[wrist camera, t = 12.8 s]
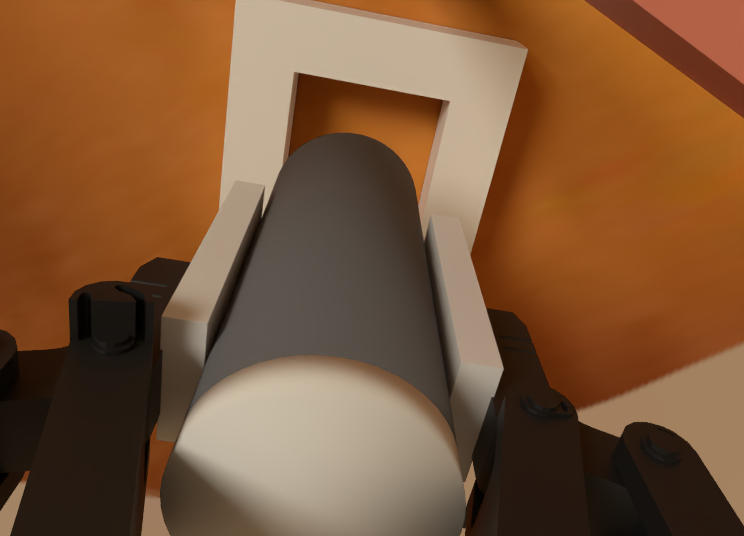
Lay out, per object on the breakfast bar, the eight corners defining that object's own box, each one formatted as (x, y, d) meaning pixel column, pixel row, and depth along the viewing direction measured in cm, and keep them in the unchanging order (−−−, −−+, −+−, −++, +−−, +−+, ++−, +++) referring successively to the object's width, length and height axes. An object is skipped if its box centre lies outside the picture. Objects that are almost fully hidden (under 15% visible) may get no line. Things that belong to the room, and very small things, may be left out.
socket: (225, 237, 28) (115, 452, 16) (264, -208, 21) (116, -386, 9) (453, 275, 29) (502, 508, 17) (567, -141, 21) (785, -229, 10)
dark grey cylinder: (266, 253, 21) (155, 592, 10) (282, 120, 19) (165, 368, 8) (400, 275, 21) (428, 624, 11) (430, 147, 19) (501, 417, 9)
